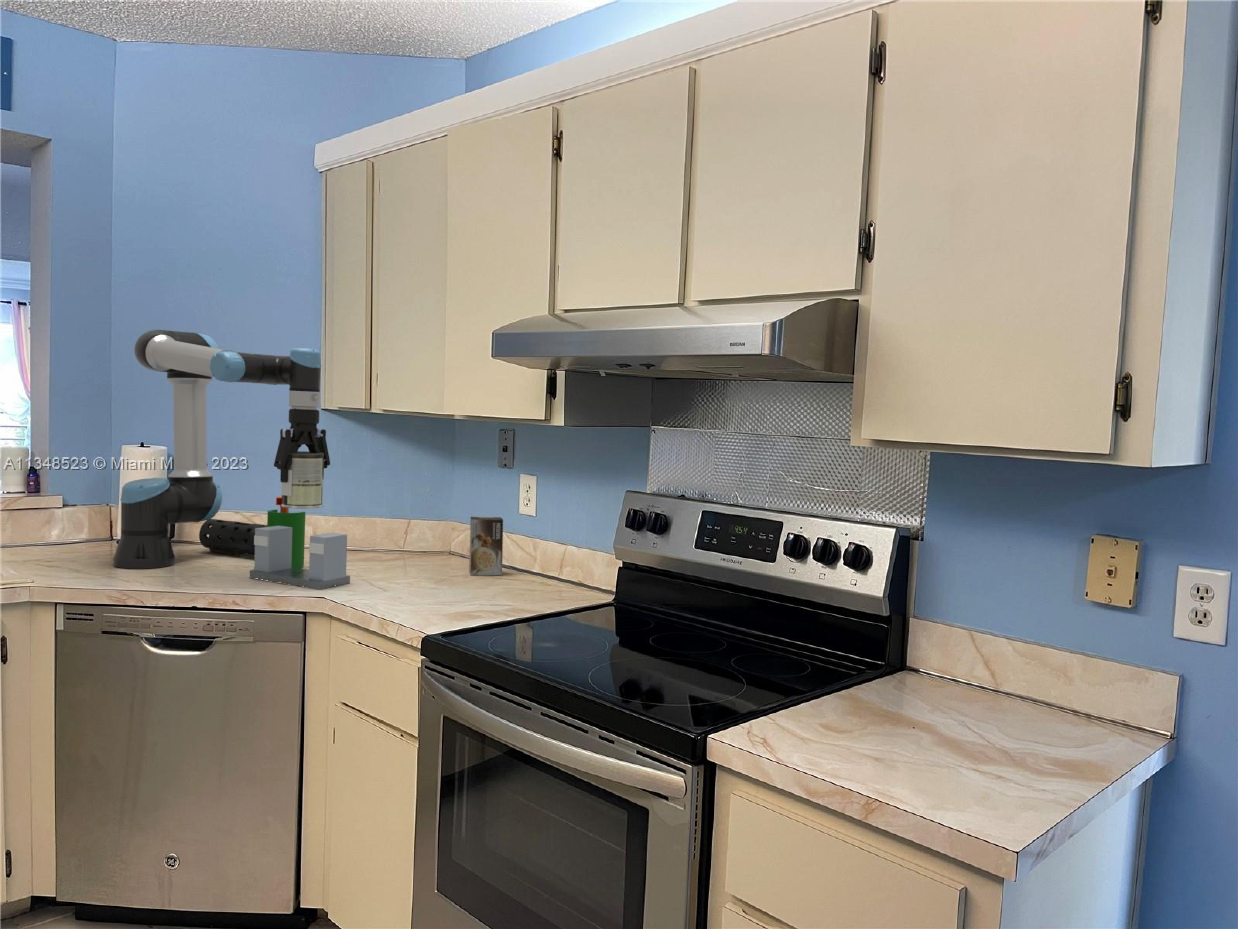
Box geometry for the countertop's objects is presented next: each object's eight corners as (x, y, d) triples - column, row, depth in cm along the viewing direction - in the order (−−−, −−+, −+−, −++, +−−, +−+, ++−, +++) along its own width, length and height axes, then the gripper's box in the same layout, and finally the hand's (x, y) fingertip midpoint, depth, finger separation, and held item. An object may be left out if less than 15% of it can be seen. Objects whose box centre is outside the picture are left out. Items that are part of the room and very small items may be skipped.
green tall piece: (307, 564, 268) (309, 495, 267) (297, 570, 259) (298, 498, 258) (272, 563, 268) (273, 493, 267) (260, 568, 259) (262, 496, 258)
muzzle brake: (222, 550, 287) (222, 516, 287) (294, 559, 277) (295, 524, 276) (197, 553, 278) (198, 519, 278) (271, 563, 268) (272, 527, 267)
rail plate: (249, 578, 245) (249, 570, 245) (281, 572, 255) (281, 565, 254) (319, 589, 234) (319, 582, 234) (349, 583, 244) (350, 575, 244)
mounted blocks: (252, 570, 245) (253, 528, 245) (277, 566, 253) (278, 525, 252) (322, 581, 235) (323, 538, 234) (346, 576, 243) (347, 534, 242)
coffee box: (500, 571, 271) (502, 516, 270) (502, 575, 265) (504, 519, 264) (468, 571, 269) (470, 516, 268) (469, 575, 263) (471, 519, 262)
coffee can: (272, 506, 241) (273, 451, 240) (302, 503, 250) (303, 450, 249) (301, 509, 236) (302, 454, 235) (331, 506, 245) (332, 453, 245)
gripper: (281, 408, 230) (279, 498, 231) (346, 409, 250) (343, 492, 252) (259, 406, 233) (257, 495, 234) (324, 408, 254) (322, 490, 255)
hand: (302, 494), depth 243 cm, fingers closed on coffee can, 10 cm apart
